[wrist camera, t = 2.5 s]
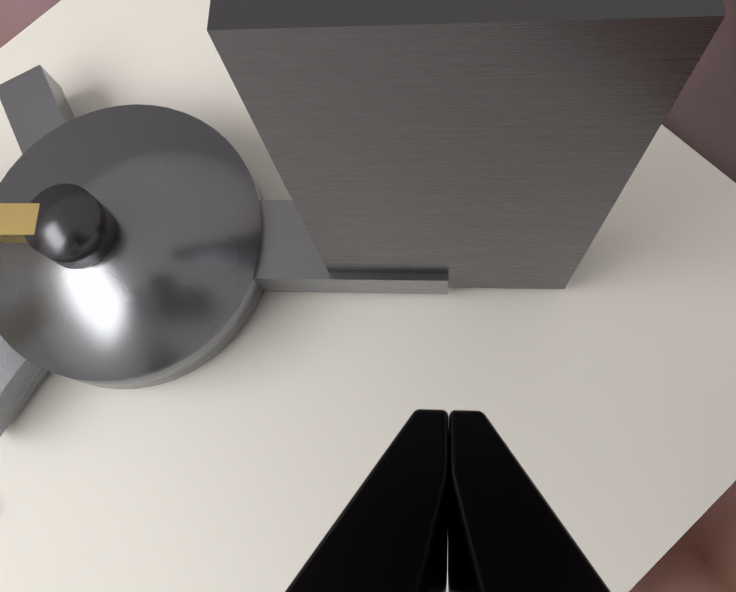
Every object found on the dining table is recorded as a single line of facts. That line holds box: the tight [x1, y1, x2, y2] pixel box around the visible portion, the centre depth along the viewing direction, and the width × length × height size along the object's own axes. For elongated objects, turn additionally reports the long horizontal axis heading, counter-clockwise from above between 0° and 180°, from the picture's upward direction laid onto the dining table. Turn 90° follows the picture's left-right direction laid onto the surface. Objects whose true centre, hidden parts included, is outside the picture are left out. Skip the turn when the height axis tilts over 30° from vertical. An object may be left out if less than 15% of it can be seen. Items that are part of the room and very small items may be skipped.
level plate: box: [0, 0, 736, 592], centre depth 16 cm, size 20×22×2 cm
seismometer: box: [0, 0, 725, 437], centre depth 12 cm, size 19×9×9 cm, turn 88°
